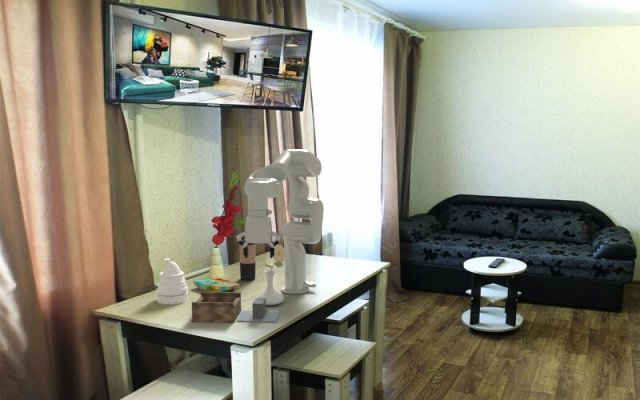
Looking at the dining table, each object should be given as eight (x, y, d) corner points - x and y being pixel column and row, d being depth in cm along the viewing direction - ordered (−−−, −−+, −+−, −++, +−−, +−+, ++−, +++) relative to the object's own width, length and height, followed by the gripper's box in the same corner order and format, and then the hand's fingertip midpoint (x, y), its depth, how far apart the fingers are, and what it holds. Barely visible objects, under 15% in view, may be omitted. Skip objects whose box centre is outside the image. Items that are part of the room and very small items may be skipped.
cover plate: (280, 313, 225) (280, 296, 224) (276, 324, 214) (276, 306, 213) (243, 312, 226) (243, 295, 226) (237, 323, 215) (236, 305, 214)
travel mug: (237, 280, 273) (236, 239, 270) (244, 276, 280) (244, 236, 278) (251, 281, 270) (250, 240, 268) (258, 278, 277) (258, 237, 275)
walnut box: (241, 310, 227) (240, 292, 226) (234, 322, 213) (233, 303, 212) (201, 310, 228) (201, 291, 227) (192, 321, 214) (191, 302, 213)
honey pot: (162, 306, 233) (160, 263, 231) (153, 298, 244) (152, 257, 242) (192, 301, 240) (191, 259, 237) (182, 293, 251) (181, 254, 248)
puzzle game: (215, 274, 267) (239, 282, 253) (215, 284, 268) (240, 292, 253) (193, 278, 259) (217, 287, 245) (194, 288, 260) (217, 298, 245)
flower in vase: (261, 308, 230) (260, 248, 227) (253, 301, 240) (252, 243, 237) (291, 305, 235) (291, 245, 232) (282, 297, 245) (281, 240, 242)
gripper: (281, 211, 218) (282, 255, 221) (237, 211, 219) (238, 254, 222) (279, 215, 211) (280, 259, 213) (233, 215, 212) (234, 259, 214)
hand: (259, 257), depth 217 cm, fingers open, 9 cm apart
